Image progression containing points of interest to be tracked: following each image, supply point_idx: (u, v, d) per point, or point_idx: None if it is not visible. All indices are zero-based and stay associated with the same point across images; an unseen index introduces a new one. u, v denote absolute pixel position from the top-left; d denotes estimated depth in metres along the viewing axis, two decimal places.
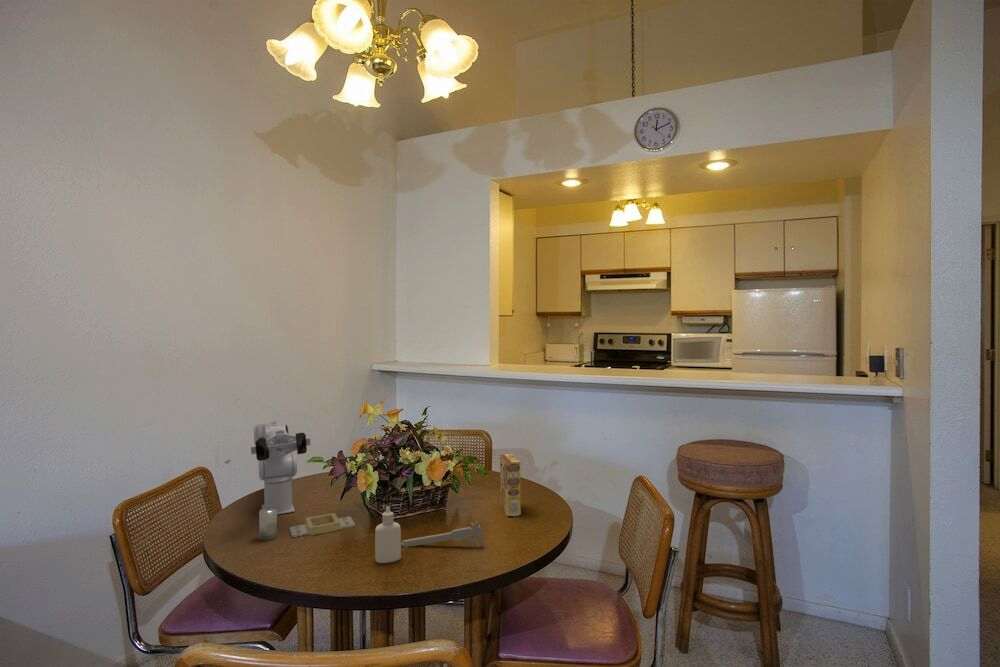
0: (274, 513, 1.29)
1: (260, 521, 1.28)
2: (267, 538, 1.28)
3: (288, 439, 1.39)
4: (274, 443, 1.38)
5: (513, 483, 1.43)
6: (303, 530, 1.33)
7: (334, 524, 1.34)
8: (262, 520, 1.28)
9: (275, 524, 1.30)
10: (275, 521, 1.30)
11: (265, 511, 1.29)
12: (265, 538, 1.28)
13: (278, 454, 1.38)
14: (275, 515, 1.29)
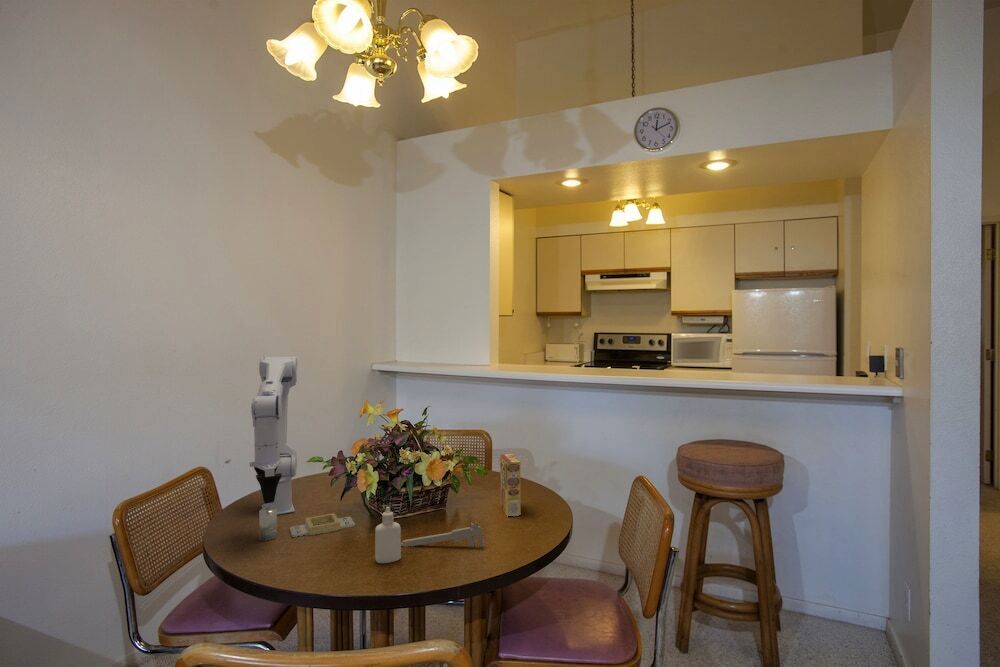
0: (274, 513, 1.29)
1: (260, 521, 1.28)
2: (267, 538, 1.28)
3: None
4: None
5: (513, 483, 1.43)
6: (303, 530, 1.33)
7: (334, 524, 1.34)
8: (262, 520, 1.28)
9: (275, 524, 1.30)
10: (275, 521, 1.30)
11: (265, 511, 1.29)
12: (265, 538, 1.28)
13: None
14: (275, 515, 1.29)
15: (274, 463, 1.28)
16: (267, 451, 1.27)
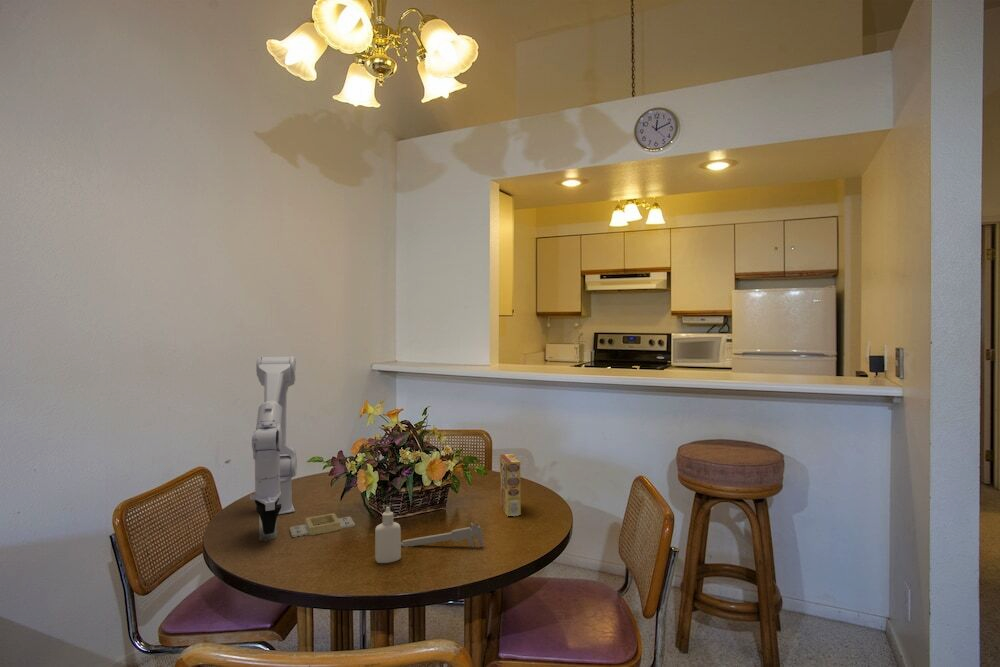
0: None
1: (260, 521, 1.28)
2: (267, 538, 1.28)
3: None
4: None
5: (513, 483, 1.43)
6: (303, 530, 1.33)
7: (334, 524, 1.34)
8: None
9: None
10: None
11: None
12: (265, 538, 1.28)
13: None
14: None
15: (274, 496, 1.28)
16: (267, 484, 1.27)
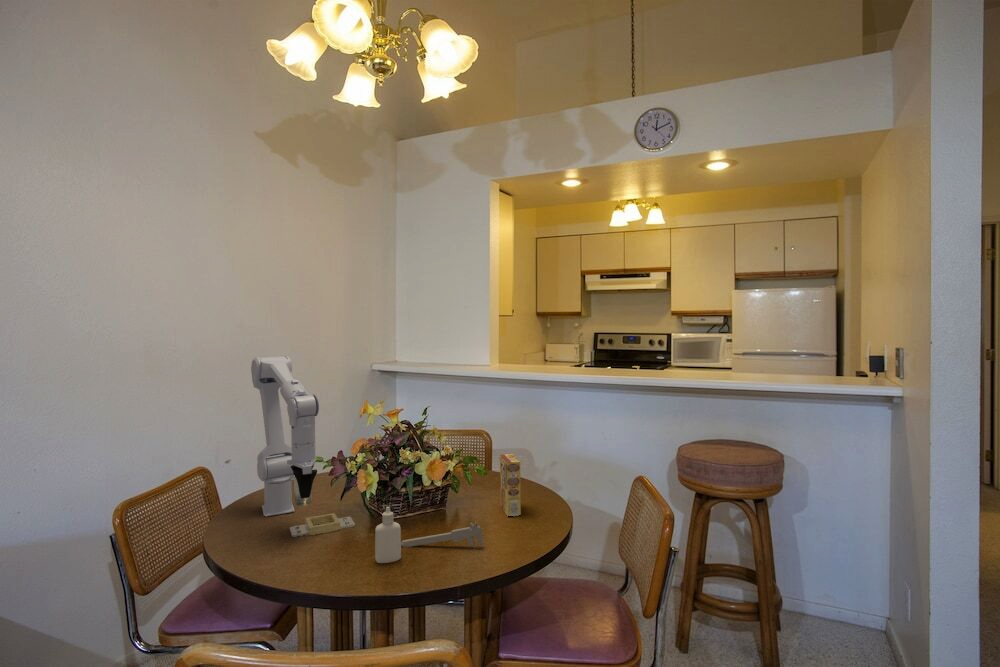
0: None
1: (295, 486, 1.32)
2: (302, 502, 1.32)
3: None
4: None
5: (513, 483, 1.43)
6: (303, 530, 1.33)
7: (334, 524, 1.34)
8: (297, 486, 1.32)
9: None
10: None
11: None
12: (301, 503, 1.32)
13: None
14: None
15: (310, 461, 1.32)
16: (304, 449, 1.31)
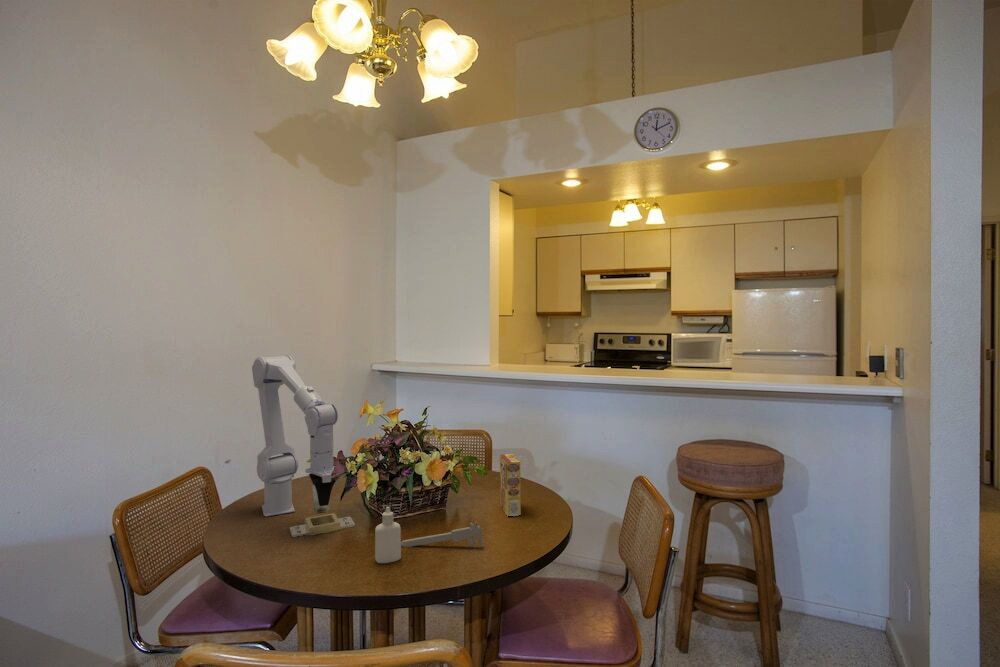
0: None
1: (314, 495, 1.34)
2: (321, 510, 1.34)
3: None
4: None
5: (513, 483, 1.43)
6: (303, 530, 1.33)
7: (334, 524, 1.34)
8: (315, 494, 1.34)
9: None
10: None
11: None
12: (320, 511, 1.34)
13: None
14: None
15: (329, 469, 1.34)
16: (323, 458, 1.33)
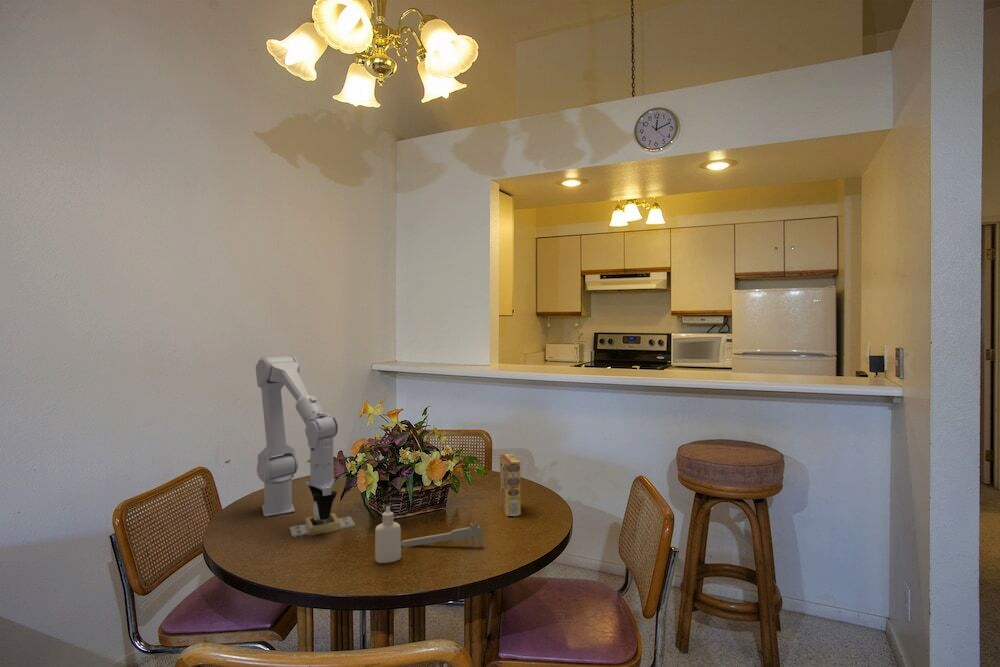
0: None
1: (314, 512, 1.34)
2: None
3: None
4: None
5: (513, 483, 1.43)
6: (303, 530, 1.33)
7: (334, 524, 1.34)
8: (316, 511, 1.34)
9: None
10: None
11: None
12: None
13: None
14: None
15: (329, 482, 1.34)
16: (323, 471, 1.33)
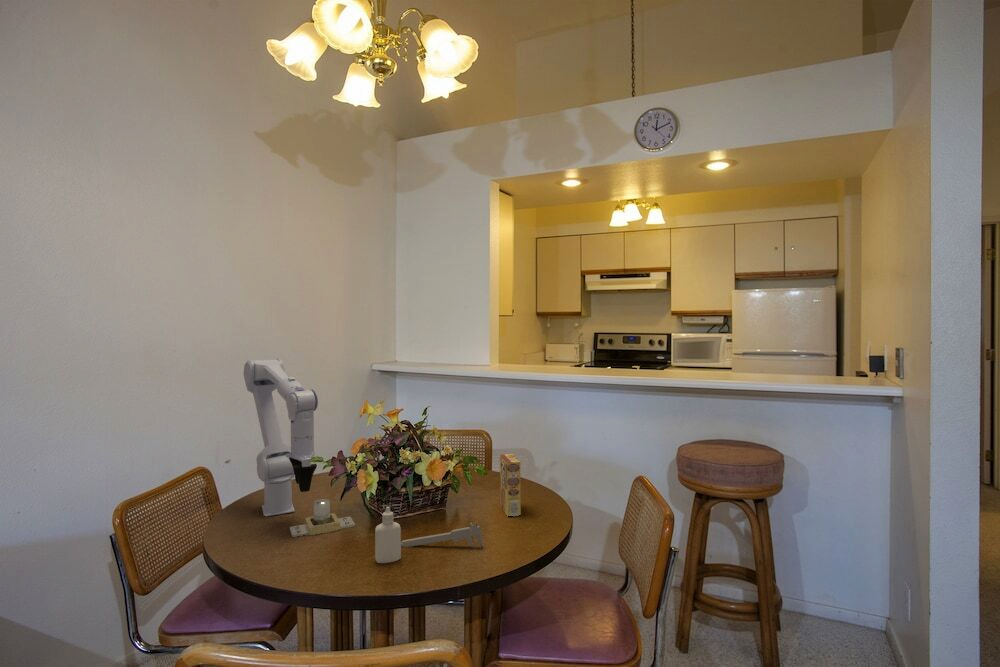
0: (328, 504, 1.35)
1: (315, 512, 1.34)
2: None
3: None
4: None
5: (513, 483, 1.43)
6: (303, 530, 1.33)
7: (334, 524, 1.34)
8: (316, 511, 1.34)
9: (328, 515, 1.36)
10: (328, 512, 1.36)
11: (319, 502, 1.35)
12: None
13: None
14: (328, 506, 1.35)
15: (309, 454, 1.36)
16: (303, 443, 1.35)
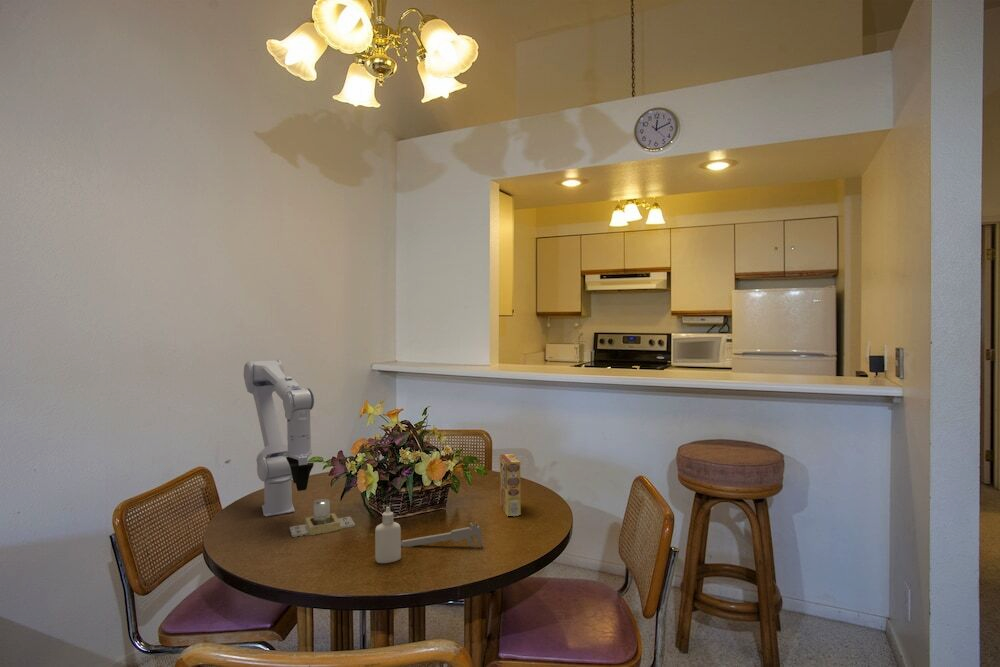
0: (328, 504, 1.35)
1: (315, 512, 1.34)
2: None
3: None
4: None
5: (513, 483, 1.43)
6: (303, 530, 1.33)
7: (334, 524, 1.34)
8: (316, 511, 1.34)
9: (328, 515, 1.36)
10: (328, 512, 1.36)
11: (319, 502, 1.35)
12: None
13: None
14: (328, 506, 1.35)
15: (306, 453, 1.36)
16: (299, 442, 1.35)
